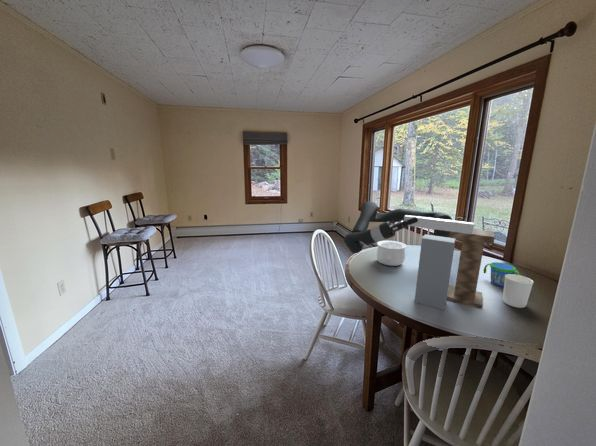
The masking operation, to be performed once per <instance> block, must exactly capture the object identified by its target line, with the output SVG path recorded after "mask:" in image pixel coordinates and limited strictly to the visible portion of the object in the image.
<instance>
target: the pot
mask: <svg viewBox="0 0 596 446" xmlns="http://www.w3.org/2000/svg"><path fill="white" fill-rule="evenodd" d="M376 245H377V246H378V247H377V251H376V259H377V261H378V262H379V263H380V264H382V265H385V266H393V267H394V266H396V267H397V266H400V265H402V264H404V262H405V259H406V251H405V249H406V248H407V244H406V243H404V242H401V241H397V240H388V239H385V240H382V241H379V242H376Z"/></svg>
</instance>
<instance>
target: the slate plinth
mask: <svg viewBox="0 0 596 446" xmlns="http://www.w3.org/2000/svg"><path fill="white" fill-rule="evenodd" d="M455 244H456V239H455V238H448V237H441V236H434V235H431V234H424V235H423V236H422V237H421V244H420V253H419V260H418V268H417V276H416V285H415V286H416V287H415V295H414V302H415V303H416V304H420V305H425V306H428V307H431V308H436V309H439V310H442V311H445V309H446V304H447V301H448V300H447V293H448V286H449V285H450V279H451V272H452V266H453V265H452V264H453V258H454V251H455Z"/></svg>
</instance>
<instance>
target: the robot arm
mask: <svg viewBox="0 0 596 446" xmlns="http://www.w3.org/2000/svg"><path fill="white" fill-rule="evenodd" d="M378 210H379V207H378V204H377V203H376V202H374V201H366V202H364V203H363V204H362V206H361V210H360V215H359V217H358V219H357V220H356V222H355V224H354V226H353V228H352V230H351V232H350V233H347V234H346V235H345V236H344V238H343V242H344V244H345V246H347V248H348V249H349V251H350V252H351V253H352V254H357V253H358V254H359V253H361V251H362V250H363V247H364V245H366V246H369V245H372V244H375V243H377V242H379V241H385V240H388V239H390V238H393V237H395V235H396V232H400V231H402V230H404V229H405V228H407V227H410V226H409V224H410V225H411V224H413V223H416V222H418V220H417V218H416V217H415V218H412V219H409V220H405V221H404V216H405V215H411V216H420V217H429V218H437V219H446V220H453V219H452V216H450V215H449V214H446V213H444V212H440V211H437V212H436V211H435V212H433V211H432V212H430V211H429V212H427V211H420V210H415V209H409V208H396V209H393V210H390V211H388V212H381V213H380V212H378ZM370 223H381V224H378V225H375V226H373V227H372V228H369V225H370ZM368 228H369V229H368ZM433 230H434V231H433V232H432V233H431V234H430V235H434V236H441V237H448V238H449V237H450V231H444V230H436V229H433Z"/></svg>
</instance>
